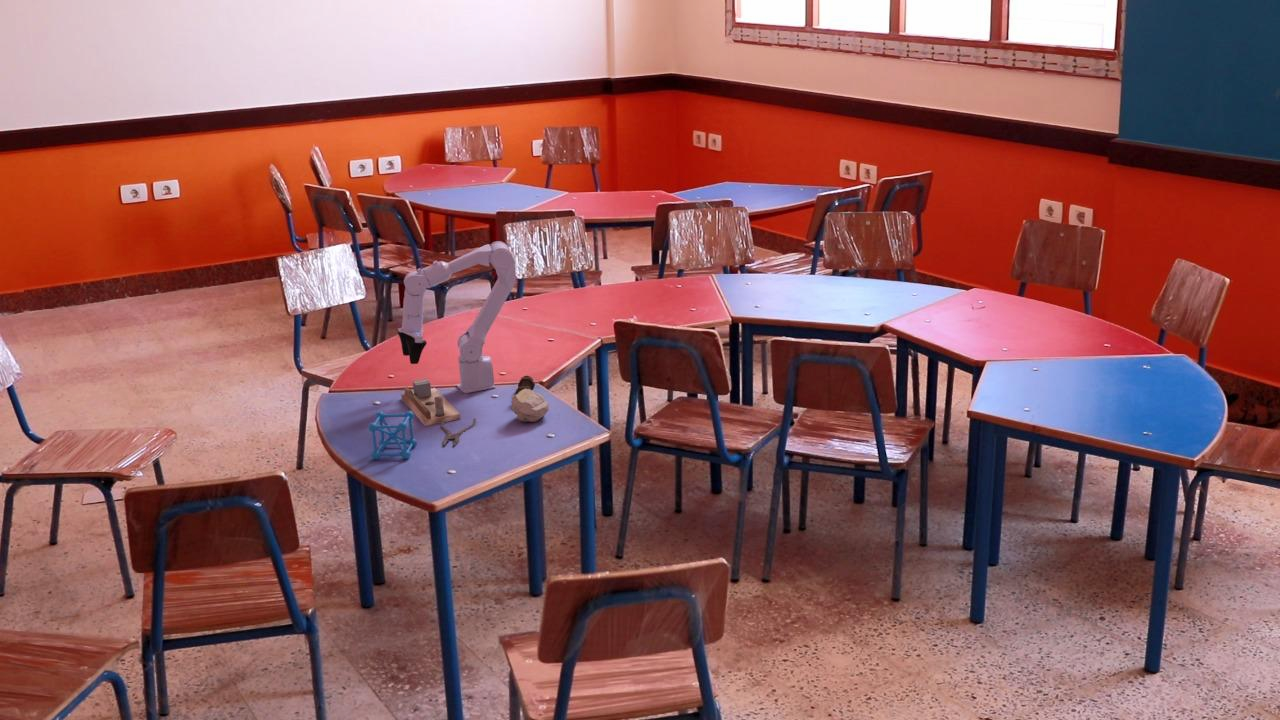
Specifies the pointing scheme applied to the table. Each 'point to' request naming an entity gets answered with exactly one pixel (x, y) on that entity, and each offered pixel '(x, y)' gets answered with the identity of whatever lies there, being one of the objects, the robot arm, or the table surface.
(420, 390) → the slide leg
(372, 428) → the molecular structure
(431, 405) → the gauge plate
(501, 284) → the robot arm
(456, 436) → the pliers
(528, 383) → the bolt
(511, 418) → the table surface
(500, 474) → the table surface
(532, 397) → the beige rock
